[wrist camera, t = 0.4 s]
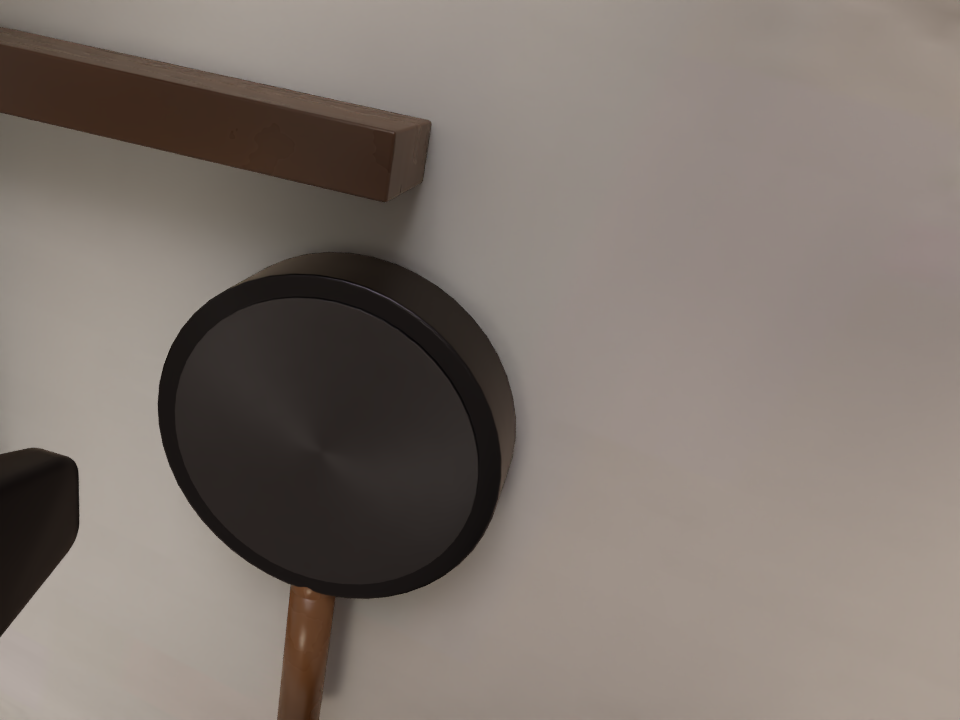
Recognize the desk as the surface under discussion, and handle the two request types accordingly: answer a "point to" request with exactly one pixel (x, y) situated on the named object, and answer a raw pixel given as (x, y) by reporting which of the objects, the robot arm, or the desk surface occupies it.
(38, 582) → the robot arm
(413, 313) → the pan
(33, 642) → the desk surface
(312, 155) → the corner fence
